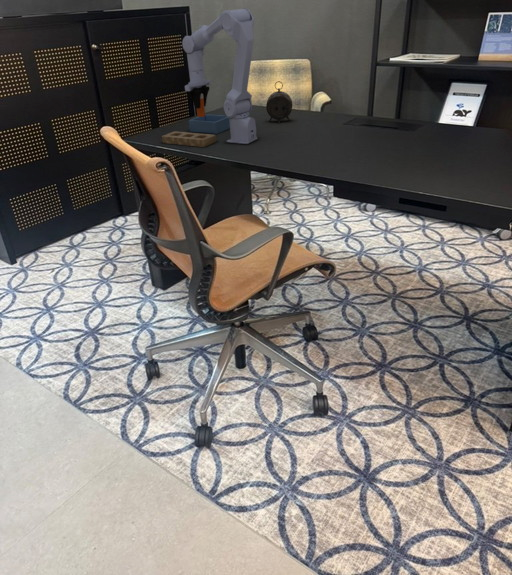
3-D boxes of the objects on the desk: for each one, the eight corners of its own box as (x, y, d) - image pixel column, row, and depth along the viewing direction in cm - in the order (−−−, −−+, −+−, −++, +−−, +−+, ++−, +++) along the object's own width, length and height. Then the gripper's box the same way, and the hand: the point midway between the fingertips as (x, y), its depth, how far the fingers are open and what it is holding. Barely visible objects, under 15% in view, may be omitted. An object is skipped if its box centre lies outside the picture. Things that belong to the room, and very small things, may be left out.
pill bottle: (207, 115, 202) (204, 93, 197) (202, 117, 199) (199, 94, 195) (200, 114, 203) (197, 92, 199) (195, 116, 201) (192, 94, 196)
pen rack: (216, 141, 193) (215, 134, 191) (204, 147, 187) (203, 140, 186) (175, 137, 202) (174, 131, 201) (162, 142, 196) (161, 136, 195)
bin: (232, 127, 212) (231, 115, 209) (216, 133, 203) (215, 122, 201) (205, 125, 218) (204, 114, 216) (189, 131, 209) (188, 120, 207)
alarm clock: (292, 119, 217) (291, 79, 208) (292, 122, 212) (291, 81, 204) (267, 120, 218) (265, 80, 210) (266, 123, 213) (264, 83, 205)
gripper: (198, 67, 200) (202, 103, 207) (176, 73, 189) (181, 110, 196) (213, 67, 196) (216, 103, 203) (191, 73, 186) (196, 111, 193)
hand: (200, 107), depth 199 cm, fingers closed on pill bottle, 3 cm apart
